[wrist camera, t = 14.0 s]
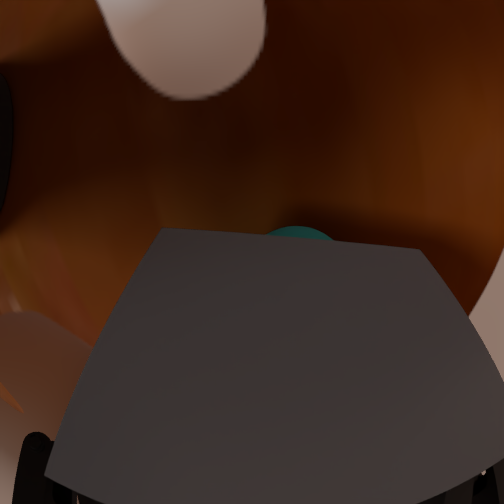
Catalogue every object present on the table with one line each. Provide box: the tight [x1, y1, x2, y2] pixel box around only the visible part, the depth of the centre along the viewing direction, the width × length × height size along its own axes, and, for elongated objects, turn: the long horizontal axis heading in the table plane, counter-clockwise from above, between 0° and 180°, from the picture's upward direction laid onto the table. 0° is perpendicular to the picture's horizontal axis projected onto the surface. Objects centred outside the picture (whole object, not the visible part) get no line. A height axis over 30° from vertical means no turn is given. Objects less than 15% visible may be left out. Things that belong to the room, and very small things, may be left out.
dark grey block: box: [44, 228, 504, 504], centre depth 9 cm, size 10×10×9 cm
